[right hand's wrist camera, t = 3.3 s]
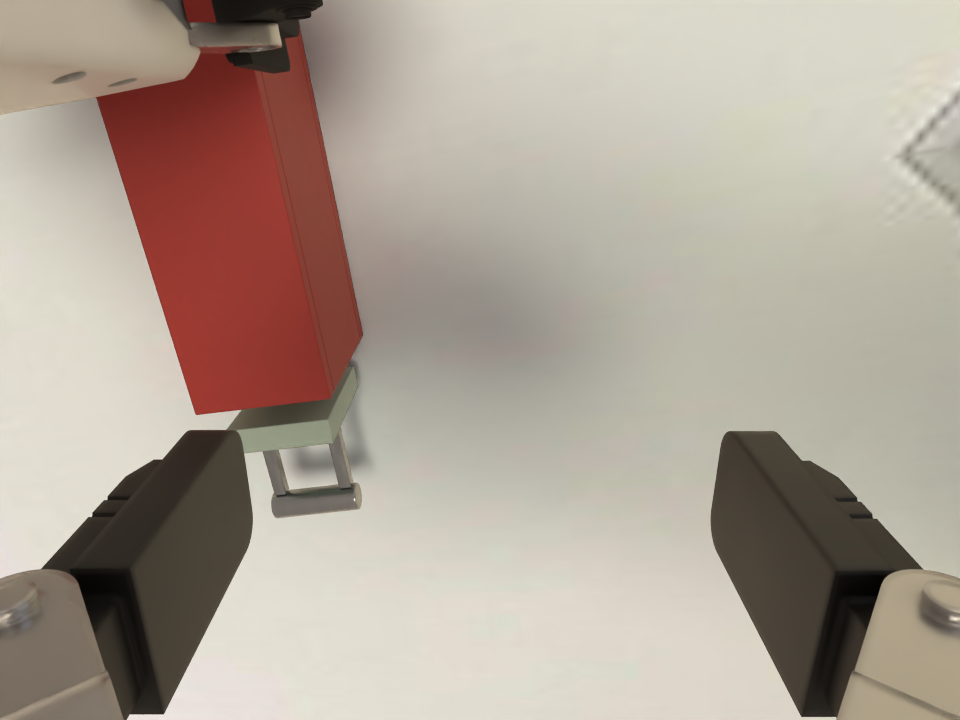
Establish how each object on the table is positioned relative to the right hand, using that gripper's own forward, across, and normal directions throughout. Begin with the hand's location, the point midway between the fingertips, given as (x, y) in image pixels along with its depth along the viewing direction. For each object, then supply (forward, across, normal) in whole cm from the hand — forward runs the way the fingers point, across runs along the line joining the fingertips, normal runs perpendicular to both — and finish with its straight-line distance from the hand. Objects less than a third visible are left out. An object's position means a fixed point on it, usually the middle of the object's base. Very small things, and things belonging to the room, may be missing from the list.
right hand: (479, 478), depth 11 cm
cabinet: (+24, +10, -3) cm, 27 cm away
